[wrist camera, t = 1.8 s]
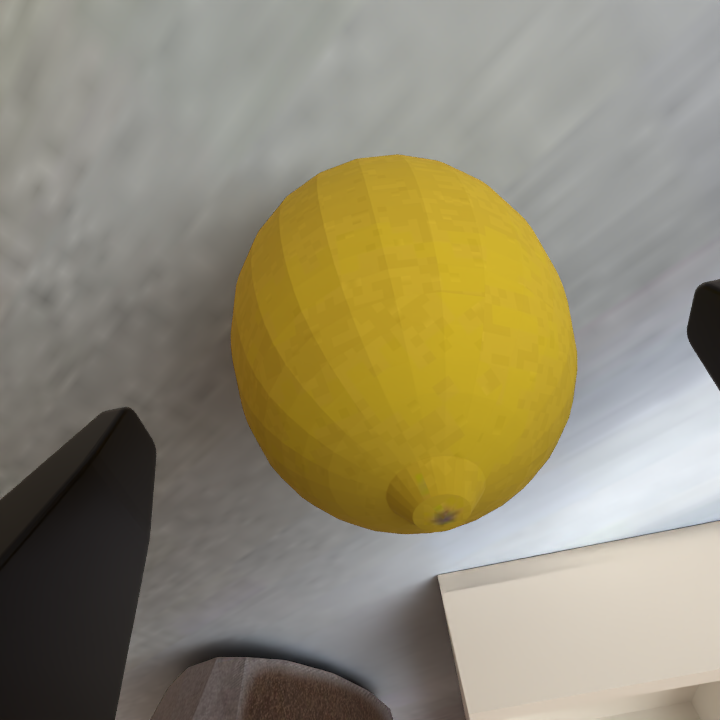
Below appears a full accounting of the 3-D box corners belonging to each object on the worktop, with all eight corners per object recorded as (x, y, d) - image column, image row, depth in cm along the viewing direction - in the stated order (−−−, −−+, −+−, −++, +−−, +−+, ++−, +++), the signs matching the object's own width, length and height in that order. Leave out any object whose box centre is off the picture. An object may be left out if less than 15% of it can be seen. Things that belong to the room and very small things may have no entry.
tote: (437, 575, 21) (468, 714, 17) (783, 508, 20) (900, 636, 16) (468, 730, 32) (492, 839, 28) (696, 690, 31) (754, 794, 27)
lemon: (332, 367, 14) (355, 675, 8) (201, 199, 11) (69, 479, 5) (517, 271, 13) (720, 547, 7) (424, 54, 10) (636, 177, 4)
